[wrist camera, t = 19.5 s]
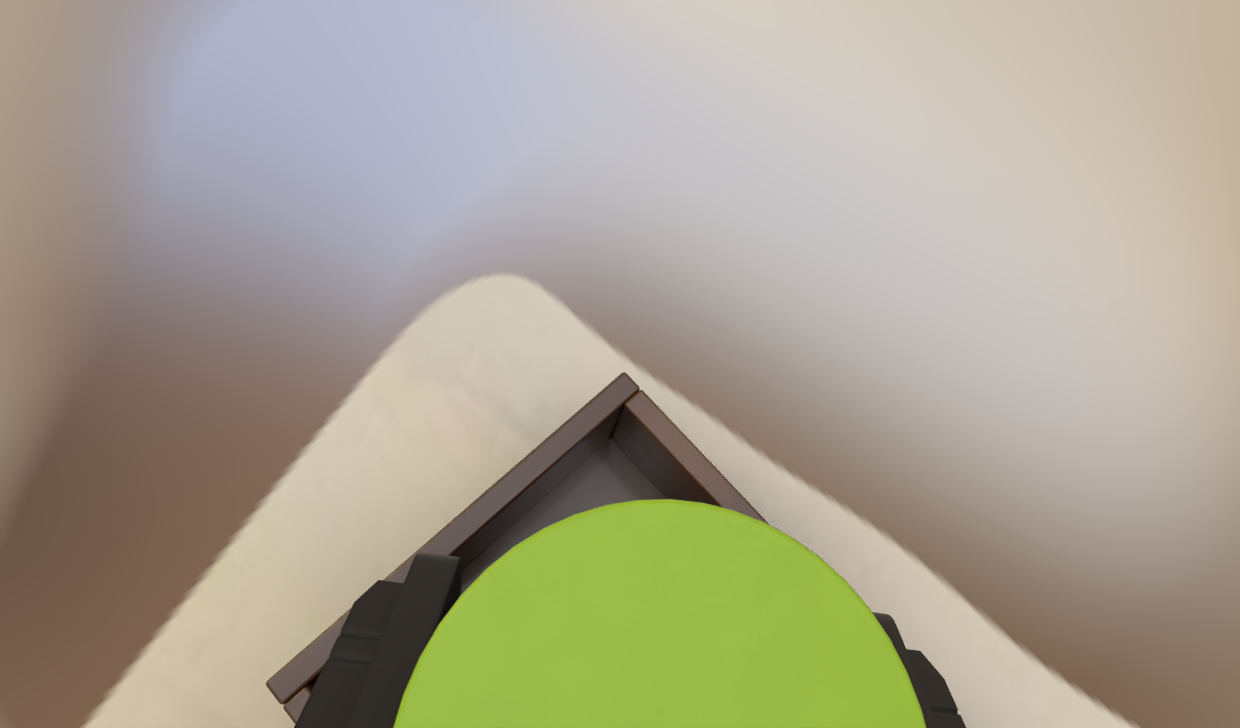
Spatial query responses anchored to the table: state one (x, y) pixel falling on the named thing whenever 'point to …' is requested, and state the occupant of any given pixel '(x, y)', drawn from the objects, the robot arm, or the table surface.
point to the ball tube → (659, 632)
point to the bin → (554, 499)
